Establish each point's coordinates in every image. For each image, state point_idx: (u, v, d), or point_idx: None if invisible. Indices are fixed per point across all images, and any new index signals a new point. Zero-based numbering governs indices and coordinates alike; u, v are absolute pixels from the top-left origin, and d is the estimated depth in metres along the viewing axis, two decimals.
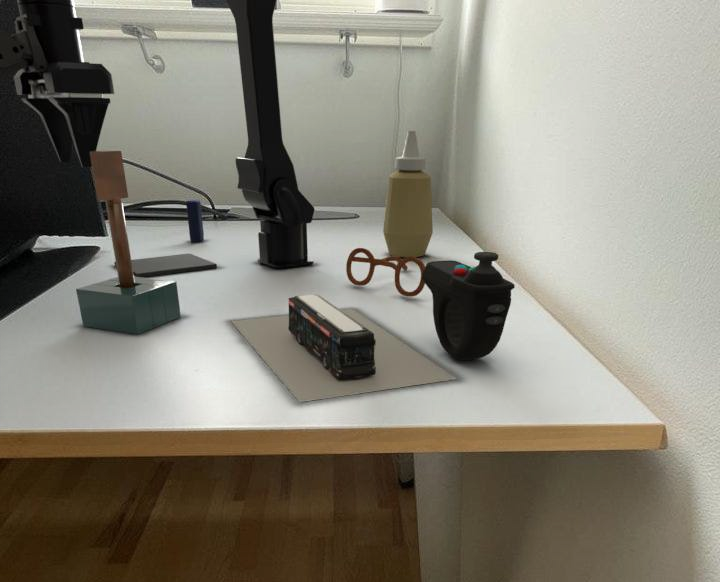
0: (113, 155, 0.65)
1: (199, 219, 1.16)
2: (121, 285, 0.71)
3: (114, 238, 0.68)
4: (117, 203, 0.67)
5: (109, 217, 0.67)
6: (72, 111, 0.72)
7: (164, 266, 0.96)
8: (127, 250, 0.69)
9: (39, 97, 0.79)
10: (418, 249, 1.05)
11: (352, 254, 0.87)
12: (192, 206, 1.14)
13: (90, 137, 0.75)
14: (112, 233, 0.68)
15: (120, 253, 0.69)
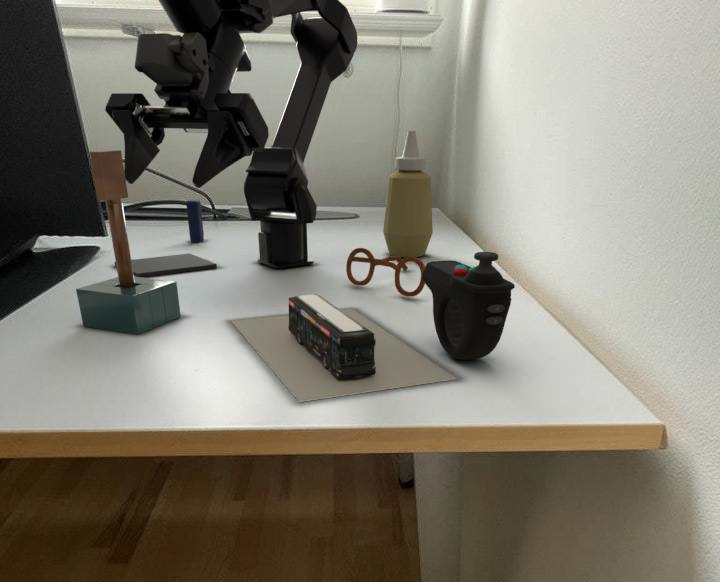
0: (113, 155, 0.65)
1: (199, 219, 1.16)
2: (121, 285, 0.71)
3: (114, 238, 0.68)
4: (117, 203, 0.67)
5: (109, 217, 0.67)
6: (222, 135, 0.71)
7: (164, 266, 0.96)
8: (127, 250, 0.69)
9: None
10: (418, 249, 1.05)
11: (352, 254, 0.87)
12: (192, 206, 1.14)
13: (215, 166, 0.73)
14: (112, 233, 0.68)
15: (120, 253, 0.69)
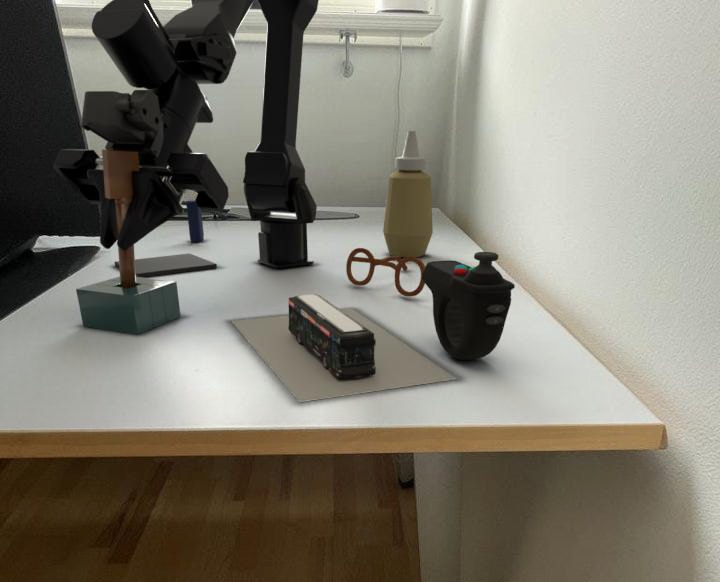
0: (127, 156, 0.66)
1: (199, 219, 1.16)
2: (121, 283, 0.71)
3: (118, 236, 0.69)
4: (124, 203, 0.67)
5: (116, 215, 0.68)
6: (148, 195, 0.67)
7: (164, 266, 0.96)
8: (130, 250, 0.69)
9: None
10: (418, 249, 1.05)
11: (352, 254, 0.87)
12: (192, 206, 1.14)
13: (143, 227, 0.69)
14: (117, 231, 0.69)
15: (122, 252, 0.69)
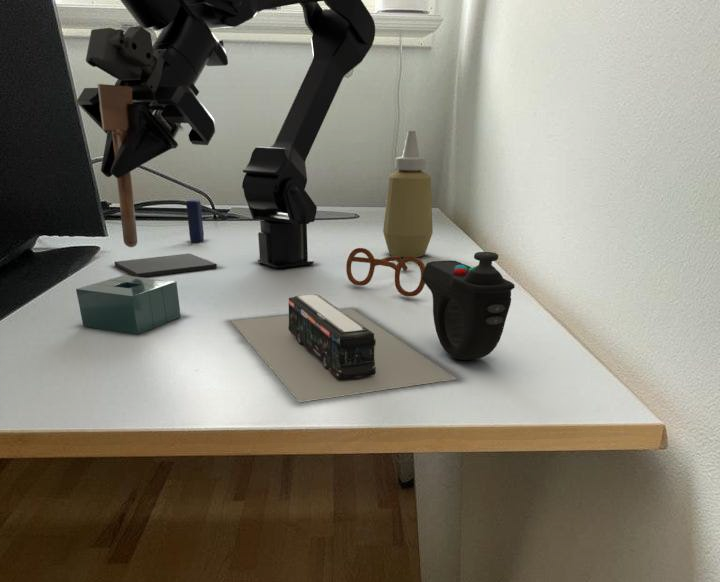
0: (120, 89, 0.72)
1: (199, 219, 1.16)
2: (120, 211, 0.78)
3: None
4: (118, 134, 0.74)
5: (113, 146, 0.75)
6: (141, 127, 0.74)
7: (164, 266, 0.96)
8: (125, 179, 0.76)
9: None
10: (418, 249, 1.05)
11: (352, 254, 0.87)
12: (192, 206, 1.14)
13: (137, 158, 0.75)
14: None
15: (119, 181, 0.76)
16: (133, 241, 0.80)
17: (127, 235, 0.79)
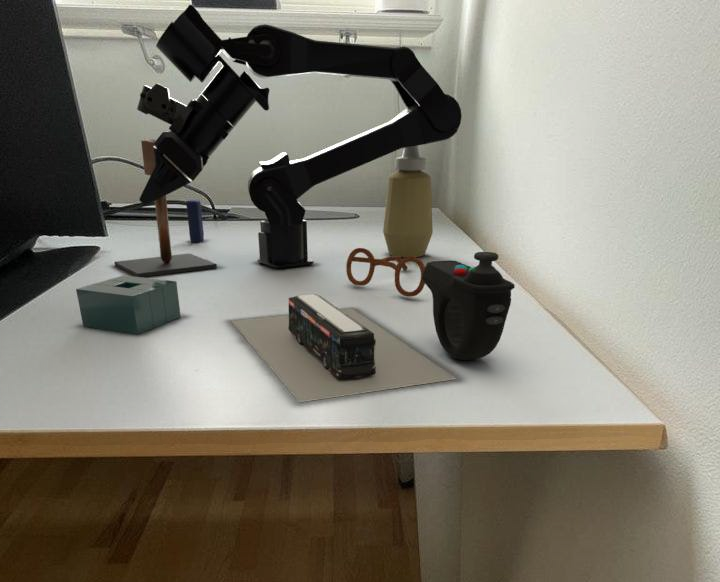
0: None
1: (199, 219, 1.16)
2: None
3: None
4: None
5: None
6: (160, 165, 0.87)
7: (164, 266, 0.96)
8: (159, 213, 0.93)
9: None
10: (418, 249, 1.05)
11: (352, 254, 0.87)
12: (192, 206, 1.14)
13: (160, 190, 0.89)
14: None
15: (156, 213, 0.93)
16: (165, 259, 0.98)
17: (161, 254, 0.97)
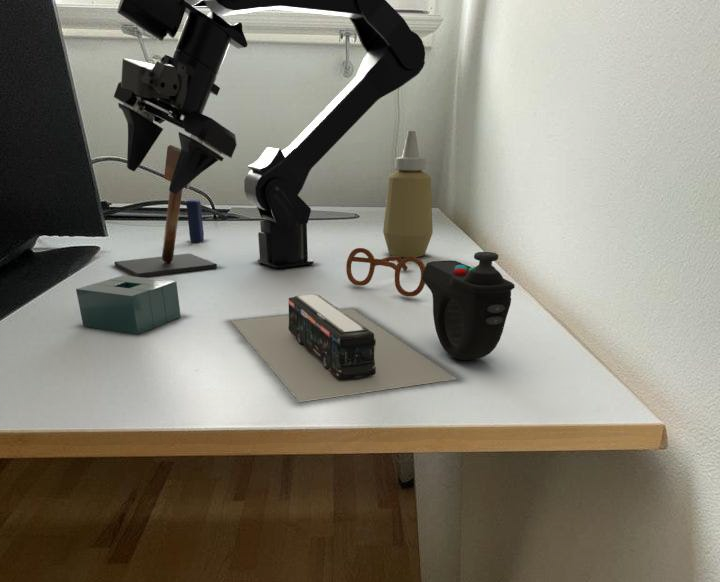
0: None
1: (199, 219, 1.16)
2: None
3: None
4: None
5: None
6: (192, 151, 0.84)
7: (164, 266, 0.96)
8: (170, 217, 0.93)
9: (137, 112, 0.88)
10: (418, 249, 1.05)
11: (352, 254, 0.87)
12: (192, 206, 1.14)
13: (190, 174, 0.87)
14: None
15: None
16: (166, 260, 0.98)
17: (163, 253, 0.97)
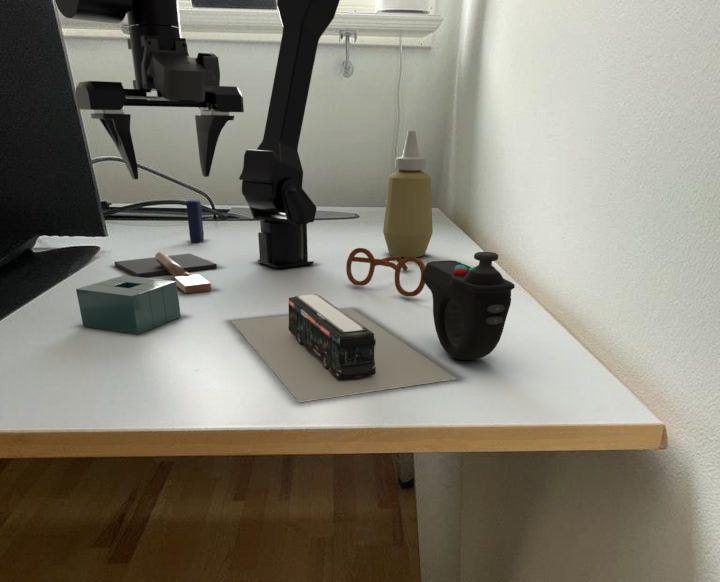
0: None
1: (199, 219, 1.16)
2: (162, 263, 0.94)
3: (172, 272, 0.90)
4: None
5: (177, 274, 0.89)
6: None
7: None
8: None
9: None
10: (418, 249, 1.05)
11: (352, 254, 0.87)
12: (192, 206, 1.14)
13: None
14: (173, 272, 0.90)
15: (170, 272, 0.92)
16: None
17: None
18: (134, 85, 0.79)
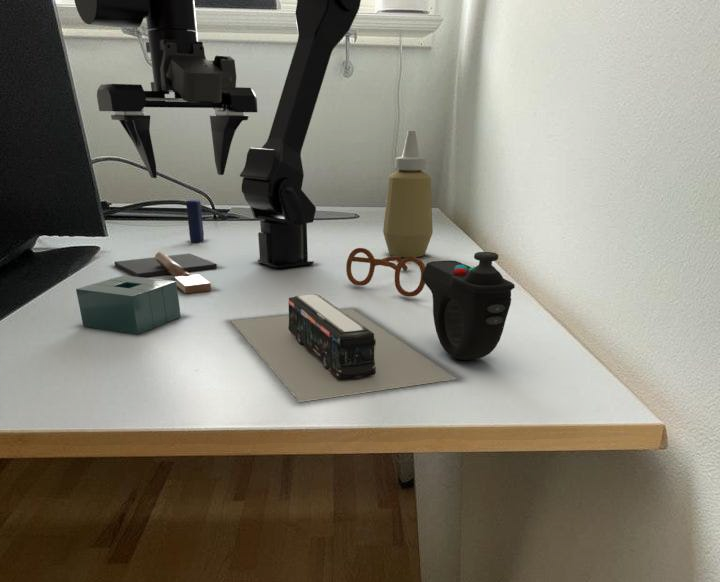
0: None
1: (199, 219, 1.16)
2: (162, 263, 0.94)
3: (172, 272, 0.90)
4: None
5: (177, 275, 0.89)
6: None
7: None
8: None
9: None
10: (418, 249, 1.05)
11: (352, 254, 0.87)
12: (192, 206, 1.14)
13: None
14: (173, 272, 0.90)
15: (170, 272, 0.92)
16: None
17: None
18: (152, 87, 0.81)
